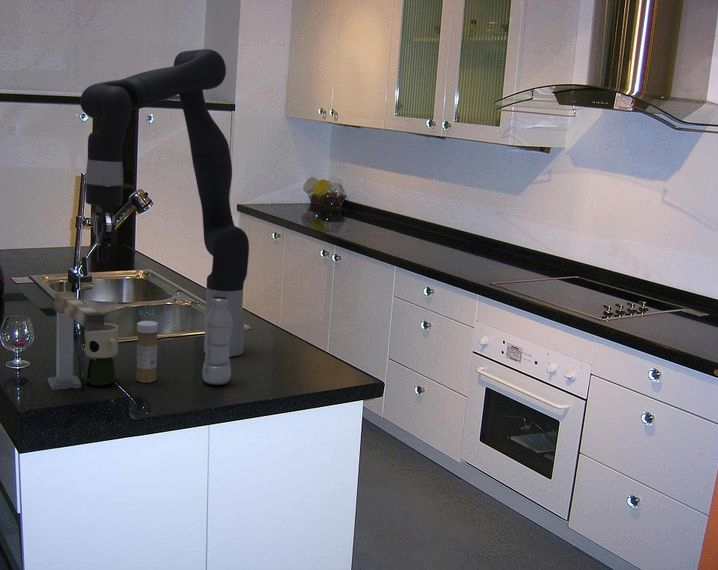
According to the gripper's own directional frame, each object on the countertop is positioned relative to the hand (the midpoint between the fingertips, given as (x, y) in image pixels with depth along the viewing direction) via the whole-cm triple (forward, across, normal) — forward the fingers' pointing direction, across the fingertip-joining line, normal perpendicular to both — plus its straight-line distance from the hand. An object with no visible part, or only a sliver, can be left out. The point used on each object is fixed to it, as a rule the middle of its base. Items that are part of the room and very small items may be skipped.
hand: (102, 262), depth 186 cm
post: (+27, -1, -7) cm, 28 cm away
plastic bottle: (+27, +6, +25) cm, 37 cm away
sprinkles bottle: (+27, 0, +10) cm, 29 cm away
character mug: (+27, 0, 0) cm, 27 cm away
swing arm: (+10, +7, -6) cm, 14 cm away
